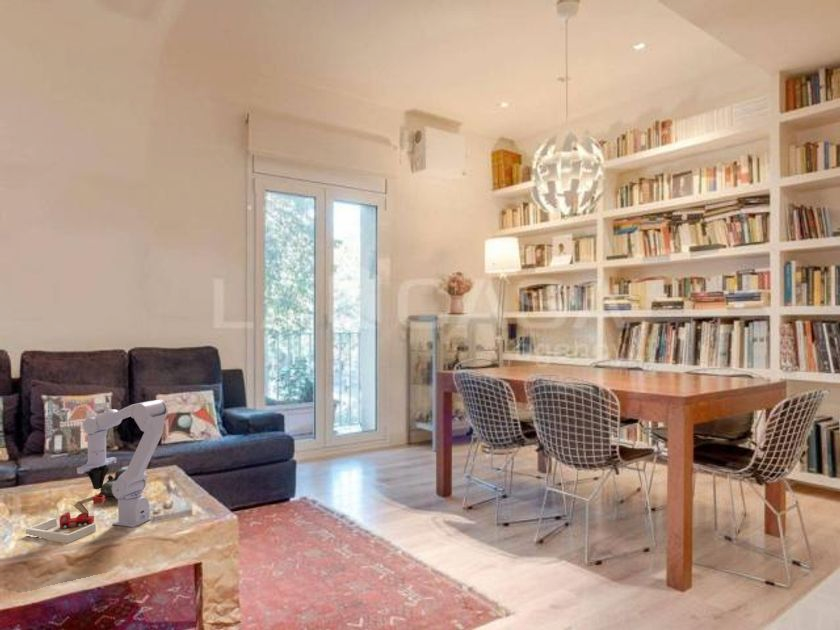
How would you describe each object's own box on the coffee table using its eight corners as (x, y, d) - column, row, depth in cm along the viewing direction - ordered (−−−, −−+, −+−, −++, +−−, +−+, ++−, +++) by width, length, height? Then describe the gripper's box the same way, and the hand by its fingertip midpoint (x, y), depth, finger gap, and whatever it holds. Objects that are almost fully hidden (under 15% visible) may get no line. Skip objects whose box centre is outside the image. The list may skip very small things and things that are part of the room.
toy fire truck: (61, 526, 201) (60, 497, 200) (106, 520, 204) (104, 493, 204) (58, 529, 197) (57, 501, 197) (103, 524, 201) (102, 496, 201)
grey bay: (95, 531, 195) (95, 523, 195) (68, 543, 185) (68, 535, 185) (54, 525, 201) (54, 518, 201) (26, 536, 192) (25, 528, 192)
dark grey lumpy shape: (96, 496, 231) (110, 461, 237) (128, 503, 236) (140, 468, 242) (99, 494, 219) (114, 457, 225) (132, 502, 224) (146, 465, 230)
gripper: (105, 444, 215) (106, 481, 216) (70, 454, 202) (70, 493, 202) (120, 446, 213) (121, 483, 213) (85, 456, 199) (86, 495, 199)
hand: (97, 488), depth 207 cm, fingers closed
